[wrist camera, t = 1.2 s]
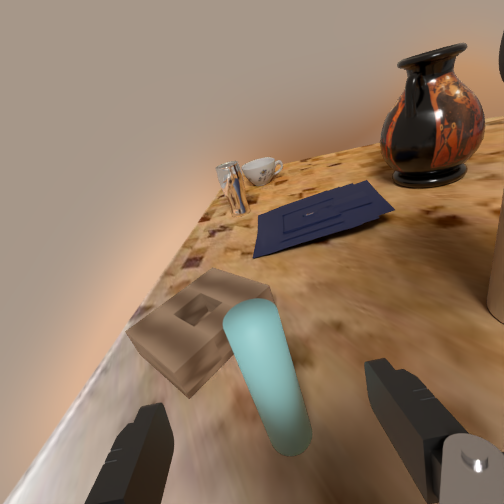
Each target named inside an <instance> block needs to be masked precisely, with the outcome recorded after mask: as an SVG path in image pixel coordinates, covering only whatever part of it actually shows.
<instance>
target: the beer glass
mask: <svg viewBox="0 0 504 504" xmlns="http://www.w3.org/2000/svg"><path fill="white" fill-rule="evenodd" d="M216 171H217V175H218V179H219V182H220V185H221V188H222V190H223V192H224V194H225V196H226V198H227V200H228V202H229V204H230V208H231V215H232V216H233V217H241V216H244V215H246V214H248V213H249V212H250V211H251V209H250V207H249V205H248V203H247V200H246V195H245V186H244V180H243V176H242V172H241V170H240V167H239V164H238V161H231V162H227V163H224V164H221V165H219V166H217V167H216Z"/></svg>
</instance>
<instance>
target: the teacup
mask: <svg viewBox="0 0 504 504" xmlns="http://www.w3.org/2000/svg"><path fill="white" fill-rule="evenodd" d="M277 164H281V168H280V169H279V170H278V171H277V172H275V173H274V171H275V168H276V165H277ZM282 168H283V164H282V162H281V161H280V160H278V161H276V162H275V160H274V158H269V157H267V158H261V159H257V160H254V161H251V162H249V163H247V164H245V165H243V166H242V170H243V173H244V174H245V176H246V178H247V179H248V180H249V181H250V182H252V183H253V184H255V185H256V186H262V185H265V184H268V183H269V182H270V180H271V179H272V177H273V176H274V175H275V174H277V173H279V172H280V171H281V170H282Z"/></svg>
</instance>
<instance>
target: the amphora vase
mask: <svg viewBox="0 0 504 504" xmlns="http://www.w3.org/2000/svg"><path fill="white" fill-rule="evenodd" d="M466 48H467V44H466V43H459V44H455V45H451V46H447V47H443V48H440V49H436V50H433V51H429V52H426V53H422V54H419V55H415V56H412V57H409V58H406V59H403V60H401V61H400V62H398V64H397V67H398V68H402V69H404V70H406V71H407V76H408V78H407V81H406V87H405V90H404V92H403V93H402V95H401V96H400V97H399V99H398V100H397V101H396V103H395V104H394V106H393V107H392V108H391V110H390V111H389V113H388V115H387V117H386V119H385V122H384V125H383V128H382V132H381V140H380V147H381V154H382V156H383V158H384V160H385V161H386V163H387V164H388V165H389V166H390V167H391V168H392V169H394V170H395V172H394V173H393V176H392V179H393V181H394V182H395V183H397V184H399V185H402V186H405V187H412V188H427V187H436V186H441V185H445V184H449V183H451V182H454V181H456V180H459V179H460V178H462V177H463V176H464V175H465V174H466V172H467V166H466V164H464V163H465V162H466V161H467V160H468V159H469V158H470V157H471V156H472V155H473V154H474V153H475V151H476V150H477V149H478V147H479V146H480V144H481V142H482V140H483V138H484V132H485V118H484V112H483V109H482V106H481V104H480V102H479V100H478V98H477V97H476V95H475V94H474V93H473V92H472V91H471V90H470V89H469V88H468V87H467V86H465V85H464V84H463V83H462V82H461V81H460V80H459V79H458V78H457V76H456V75H455V73H454V70H453V68H454V63H455V59H456V56H458V55H459V53H462V52H463V51H465V50H466Z"/></svg>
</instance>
